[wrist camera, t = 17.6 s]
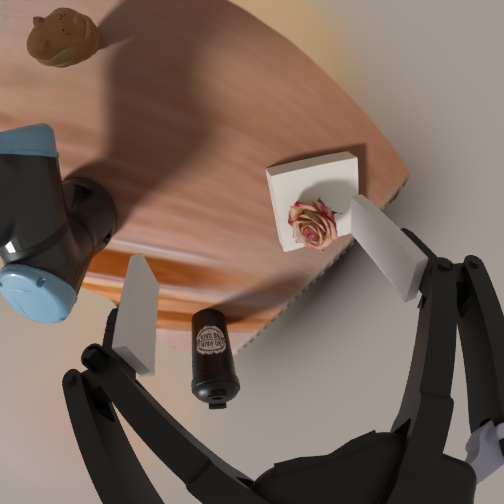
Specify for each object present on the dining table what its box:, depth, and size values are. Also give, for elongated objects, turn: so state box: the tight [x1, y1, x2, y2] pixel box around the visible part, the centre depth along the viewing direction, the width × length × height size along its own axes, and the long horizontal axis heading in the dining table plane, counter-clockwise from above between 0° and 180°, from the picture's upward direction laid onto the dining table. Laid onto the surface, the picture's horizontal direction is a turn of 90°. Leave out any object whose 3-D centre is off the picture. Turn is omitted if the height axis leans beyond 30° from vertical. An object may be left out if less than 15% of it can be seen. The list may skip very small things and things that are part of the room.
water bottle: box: [191, 309, 240, 409], centre depth 57 cm, size 10×10×23 cm
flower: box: [288, 197, 343, 251], centre depth 45 cm, size 10×9×8 cm
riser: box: [265, 151, 358, 252], centre depth 49 cm, size 16×16×4 cm
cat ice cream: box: [27, 8, 101, 68], centre depth 19 cm, size 9×8×18 cm
